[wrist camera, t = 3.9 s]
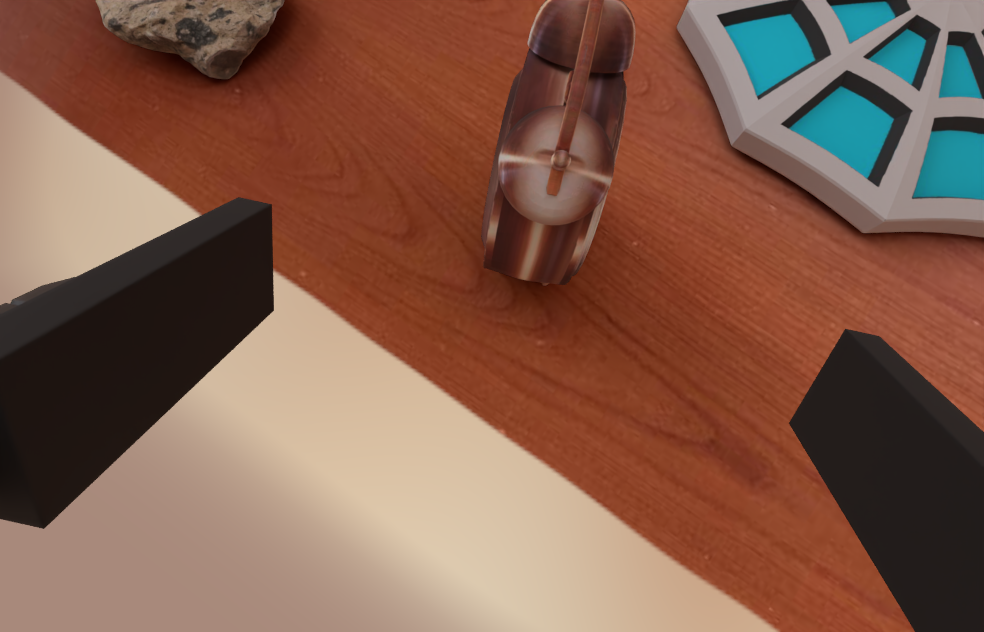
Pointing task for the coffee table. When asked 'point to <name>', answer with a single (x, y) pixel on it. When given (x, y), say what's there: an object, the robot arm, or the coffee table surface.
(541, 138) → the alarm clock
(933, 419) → the robot arm
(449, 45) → the coffee table surface
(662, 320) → the coffee table surface
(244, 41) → the rock
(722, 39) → the decorative platform
